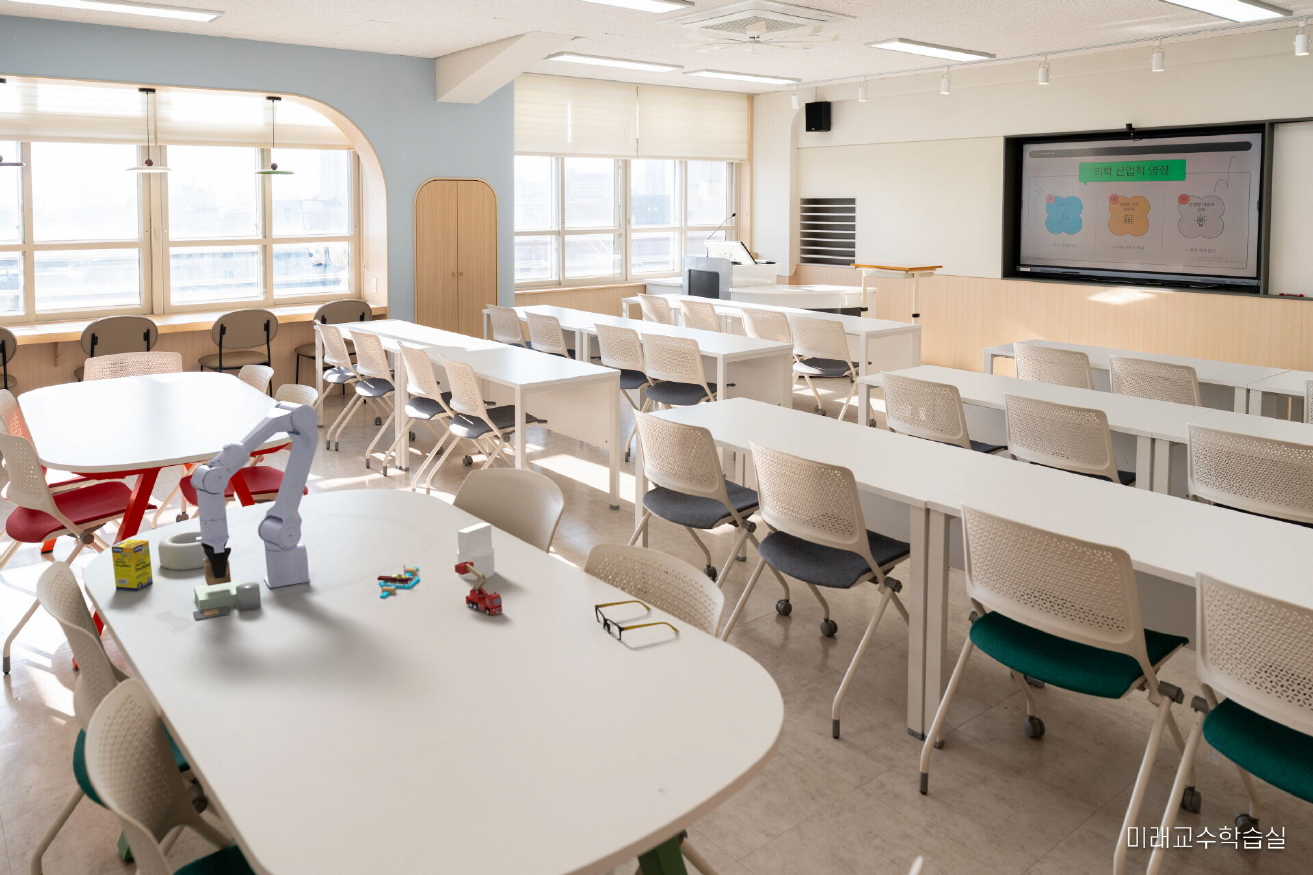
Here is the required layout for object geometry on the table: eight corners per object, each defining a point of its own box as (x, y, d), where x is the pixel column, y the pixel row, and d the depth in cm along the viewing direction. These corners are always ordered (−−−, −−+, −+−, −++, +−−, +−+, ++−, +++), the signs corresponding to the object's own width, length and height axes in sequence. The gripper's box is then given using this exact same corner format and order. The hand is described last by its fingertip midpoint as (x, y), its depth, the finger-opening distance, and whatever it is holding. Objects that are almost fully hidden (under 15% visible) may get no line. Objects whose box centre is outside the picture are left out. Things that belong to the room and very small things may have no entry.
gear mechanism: (360, 598, 244) (398, 601, 242) (359, 576, 242) (397, 579, 241) (396, 569, 263) (431, 572, 261) (394, 549, 262) (430, 551, 260)
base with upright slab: (476, 565, 265) (474, 520, 262) (502, 572, 260) (500, 526, 257) (450, 575, 258) (448, 528, 255) (476, 582, 253) (474, 535, 250)
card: (226, 607, 237) (226, 605, 237) (229, 614, 233) (229, 612, 233) (193, 612, 234) (193, 611, 234) (195, 620, 229) (195, 618, 229)
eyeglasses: (591, 621, 230) (591, 604, 229) (650, 610, 236) (650, 594, 235) (617, 645, 217) (617, 627, 216) (678, 633, 223) (678, 615, 222)
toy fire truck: (492, 617, 231) (491, 576, 229) (455, 601, 240) (454, 562, 238) (504, 613, 233) (503, 572, 231) (467, 598, 242) (465, 558, 240)
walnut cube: (228, 575, 244) (226, 555, 242) (231, 582, 239) (229, 561, 238) (205, 579, 241) (203, 558, 240) (207, 585, 237) (205, 565, 236)
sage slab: (240, 591, 248) (239, 579, 248) (247, 604, 240) (246, 592, 239) (195, 598, 243) (193, 586, 243) (200, 612, 235) (199, 600, 234)
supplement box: (137, 591, 247) (132, 547, 245) (115, 589, 248) (110, 546, 246) (154, 582, 253) (149, 540, 250) (132, 581, 254) (127, 538, 251)
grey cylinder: (260, 601, 240) (258, 581, 239) (261, 609, 236) (259, 588, 235) (237, 604, 238) (235, 584, 237) (237, 612, 234) (235, 591, 233)
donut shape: (147, 570, 262) (144, 544, 261) (183, 551, 277) (180, 527, 275) (201, 573, 260) (199, 547, 258) (235, 554, 274) (232, 530, 273)
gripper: (190, 512, 241) (196, 567, 244) (197, 528, 229) (203, 586, 232) (223, 507, 245) (228, 562, 248) (231, 523, 232) (237, 581, 235)
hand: (218, 573), depth 240 cm, fingers closed on walnut cube, 5 cm apart
